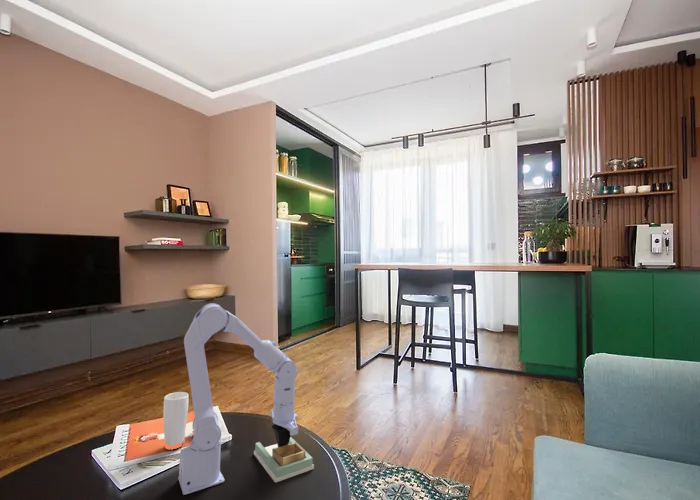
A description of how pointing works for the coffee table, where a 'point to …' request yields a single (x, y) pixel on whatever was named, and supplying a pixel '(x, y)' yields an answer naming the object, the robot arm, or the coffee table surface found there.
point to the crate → (288, 454)
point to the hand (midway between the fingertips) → (282, 451)
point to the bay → (286, 470)
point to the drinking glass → (175, 417)
